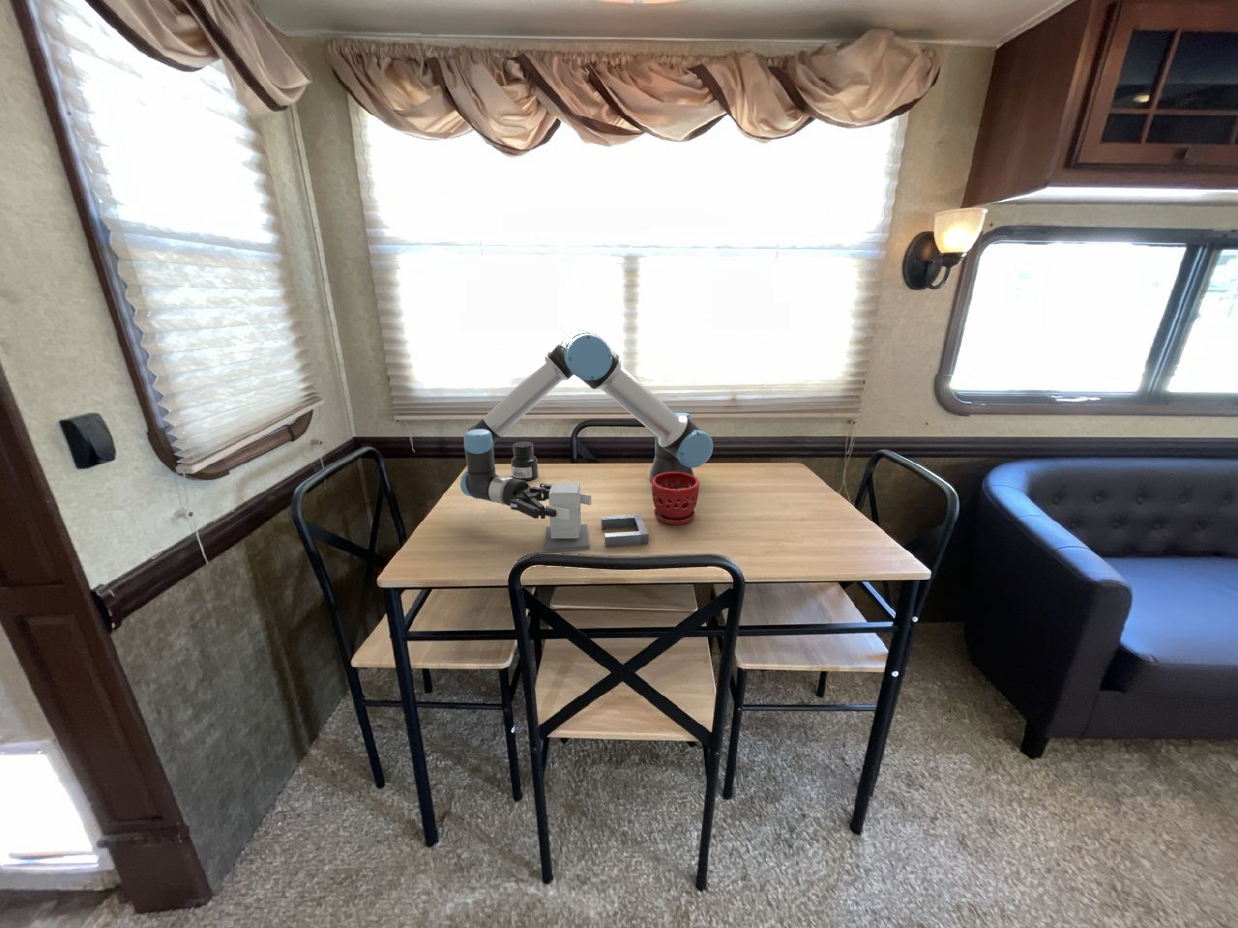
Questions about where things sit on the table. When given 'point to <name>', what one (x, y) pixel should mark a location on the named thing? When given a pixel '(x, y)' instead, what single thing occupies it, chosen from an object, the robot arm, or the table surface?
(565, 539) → the mat
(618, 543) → the grey piece
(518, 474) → the ink bottle
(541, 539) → the table surface
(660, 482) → the plant pot
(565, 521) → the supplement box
